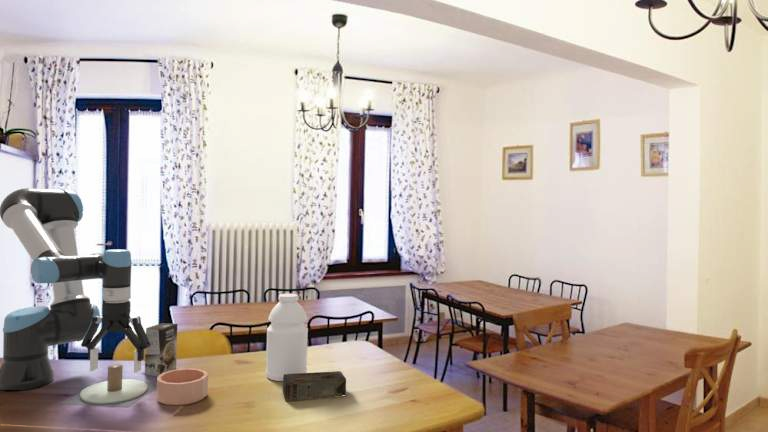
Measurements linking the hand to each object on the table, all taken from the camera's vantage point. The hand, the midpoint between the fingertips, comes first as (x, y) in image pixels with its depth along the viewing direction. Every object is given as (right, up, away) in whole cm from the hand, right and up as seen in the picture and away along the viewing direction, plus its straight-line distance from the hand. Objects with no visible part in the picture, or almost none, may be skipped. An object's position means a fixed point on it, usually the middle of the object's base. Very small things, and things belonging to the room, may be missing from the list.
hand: (115, 370), depth 155 cm
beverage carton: (+60, -10, +5) cm, 60 cm away
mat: (-1, -7, 0) cm, 7 cm away
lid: (-1, -7, 0) cm, 7 cm away
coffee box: (+4, -7, +21) cm, 23 cm away
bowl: (+20, -8, -1) cm, 22 cm away
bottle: (+48, -9, +22) cm, 53 cm away
